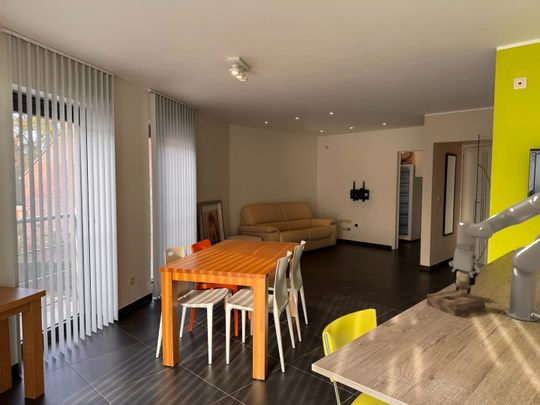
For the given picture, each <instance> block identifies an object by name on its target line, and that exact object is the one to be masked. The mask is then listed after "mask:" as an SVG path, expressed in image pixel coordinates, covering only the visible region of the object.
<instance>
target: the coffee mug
mask: <svg viewBox="0 0 540 405" xmlns="http://www.w3.org/2000/svg"><path fill="white" fill-rule="evenodd" d="M453 282H454V283H453V284H454V290H458V291H459V288H458V287H456V280H453ZM471 292H472V287H471V288H470V289H467V294H470V295H471Z"/></svg>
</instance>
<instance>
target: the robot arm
mask: <svg viewBox="0 0 540 405" xmlns="http://www.w3.org/2000/svg"><path fill="white" fill-rule="evenodd" d="M539 215H540V191H539V192H536V193H534V194H532V195H530V196H528V197H526V198H525V199H523V200H521V201H519V202H517V203H515V204H513V205H511V206H509V207H506V208H505V209H504V210H502V211H500V212H498V213H496V214H494V215H492V216H490V217H488V218H486V219H484V220H483V221H480V222H479V223H474V222H472V221H459V222H458V223H457V231H456V248H455V250H454V254H453V260H451V261H449V262H448V265H449V268H450V269H451V272H452V281H454V280H457V271H465V272H469V274H470V276H471V277H470V279H469V285H471V286H475V285H476V278H477V277H478V276H479V275H480V274H481V272H482V269H481V268H480V267H479V266H478V257H477V252H476V249H477V246H475V241H476V240H475V239H479V240H480V239H481V240H489V239H491V238H492V237H493V236H494V234H496V233H498V232H500V231H502V230H504V229H506V228H509V227H512V226H518V225H520V224H523V223H525V222H526V221H528V220H531V219H533V218H536V217H537V216H539ZM511 255H512V256H511V273H510V274H511V275H510V278H511V279H510V289H509V290H510V292H509V294H510V295H509V308H508V309H505V311H504V314H505V315H506V316H507V317H510V318H512V319H516V320H519V321H523V322H524V321H525V322H536V321H538V320H540V313H539V312H538V308H536V300H537V299H536V298H537V283H538V270H540V234H538V235H536V237H535V239H534V241H533V242H531V243H529V244H528V245H527V246H521V247H518V248H516V249H515V250H514V251H513V252H512V254H511Z"/></svg>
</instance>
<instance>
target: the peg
mask: <svg viewBox="0 0 540 405" xmlns="http://www.w3.org/2000/svg"><path fill="white" fill-rule="evenodd" d="M470 277H471V276H470V274H469V272H466V271H462V270H458V271H457V280H456V287H458V288H459V296H461V297H467V289H470V288H471V289H472V285H469V279H470Z"/></svg>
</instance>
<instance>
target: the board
mask: <svg viewBox="0 0 540 405" xmlns="http://www.w3.org/2000/svg"><path fill="white" fill-rule="evenodd" d="M426 305H427V306H429V307H432V308H434V309H437V310H440V311H442V312H444V313H447V314H450V315H452V316H455V317H457V316H461V315H466V314H470V313H476V312H480V311H481V312H482V311H485V310H486V299H484V298H482V297H480V296H479V297H478V296H476V295H472V294H471V293H470V294H467V297H461V296H459V291H458V290H455V289H453V290H448V291H447V290H446V291H442V292H435V293H429V294H426Z"/></svg>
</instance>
